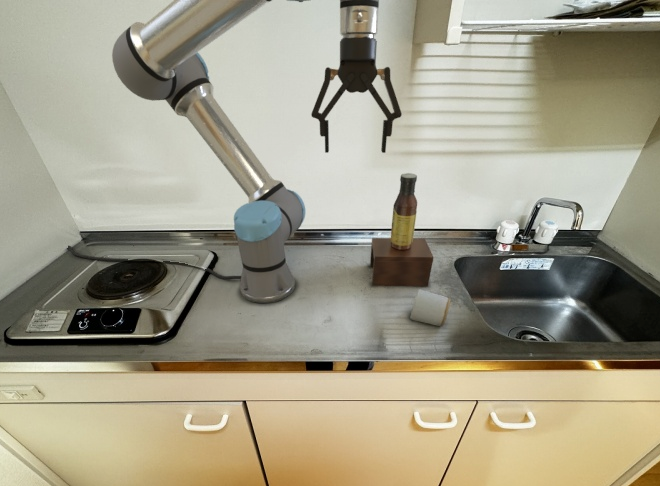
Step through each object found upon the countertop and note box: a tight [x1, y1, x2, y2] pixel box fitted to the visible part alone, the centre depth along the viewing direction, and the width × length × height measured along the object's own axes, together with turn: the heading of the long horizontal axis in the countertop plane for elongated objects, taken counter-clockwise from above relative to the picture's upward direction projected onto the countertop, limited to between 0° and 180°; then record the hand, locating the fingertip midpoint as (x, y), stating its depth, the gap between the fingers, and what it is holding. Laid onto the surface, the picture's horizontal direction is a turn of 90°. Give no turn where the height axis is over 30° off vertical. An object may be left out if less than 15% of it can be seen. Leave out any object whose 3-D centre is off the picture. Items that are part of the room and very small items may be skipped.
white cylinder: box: [409, 289, 451, 327], centre depth 78 cm, size 11×8×8 cm
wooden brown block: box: [369, 237, 435, 287], centre depth 93 cm, size 16×12×10 cm
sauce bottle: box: [390, 172, 418, 250], centre depth 85 cm, size 6×6×20 cm
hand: (355, 151), depth 76 cm, fingers open, 13 cm apart
